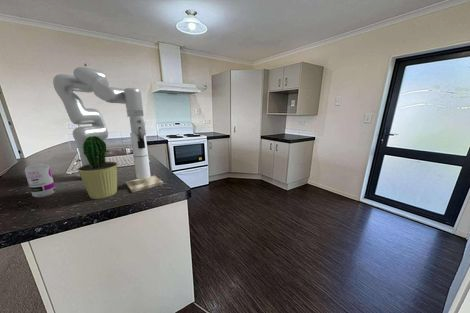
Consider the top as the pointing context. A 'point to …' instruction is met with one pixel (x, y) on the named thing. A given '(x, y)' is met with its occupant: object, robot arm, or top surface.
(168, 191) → the top surface
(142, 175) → the cylindrical container
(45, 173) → the supplement can
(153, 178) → the birch board
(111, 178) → the potted cactus
